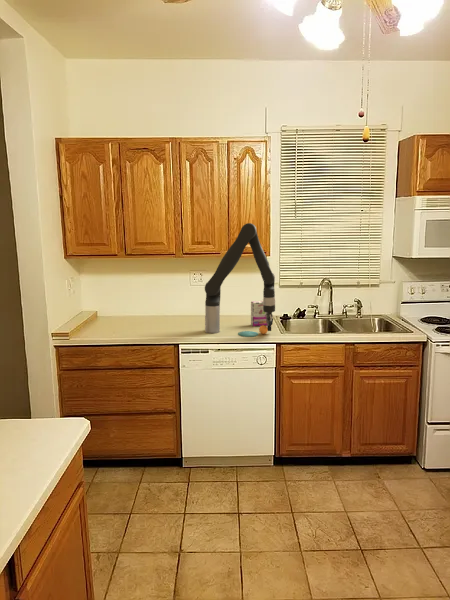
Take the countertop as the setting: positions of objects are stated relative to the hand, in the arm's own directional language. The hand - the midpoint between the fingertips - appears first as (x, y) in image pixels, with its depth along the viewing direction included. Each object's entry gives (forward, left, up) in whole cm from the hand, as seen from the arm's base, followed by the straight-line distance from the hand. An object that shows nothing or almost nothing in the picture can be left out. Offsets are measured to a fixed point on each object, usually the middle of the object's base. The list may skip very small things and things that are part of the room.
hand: (269, 330), depth 283 cm
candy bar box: (-3, +22, -2) cm, 22 cm away
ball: (-4, 0, +1) cm, 4 cm away
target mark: (-14, 0, -2) cm, 14 cm away
